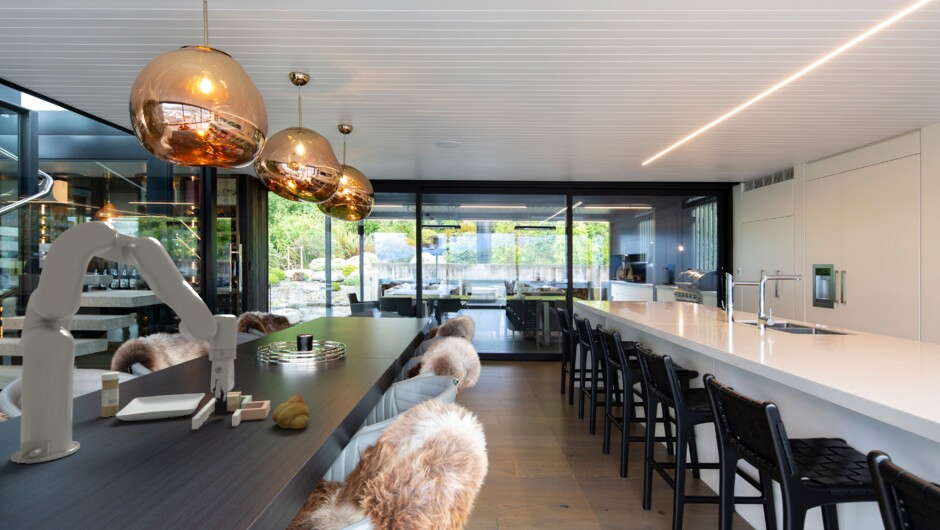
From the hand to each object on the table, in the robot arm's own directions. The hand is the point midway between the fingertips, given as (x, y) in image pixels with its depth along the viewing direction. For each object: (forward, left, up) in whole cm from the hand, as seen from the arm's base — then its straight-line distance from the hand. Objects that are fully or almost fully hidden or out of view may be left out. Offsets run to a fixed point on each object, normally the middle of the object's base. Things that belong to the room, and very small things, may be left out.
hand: (220, 413), depth 146 cm
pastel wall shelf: (+3, -4, -1) cm, 5 cm away
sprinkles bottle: (+13, +35, -2) cm, 37 cm away
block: (+11, 0, -2) cm, 11 cm away
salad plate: (+13, +20, -2) cm, 24 cm away
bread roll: (-14, -22, -2) cm, 26 cm away
